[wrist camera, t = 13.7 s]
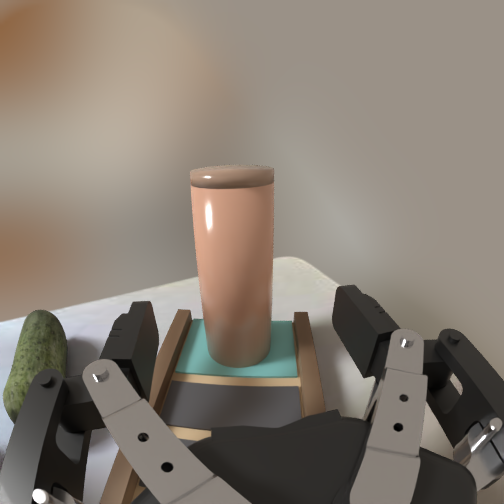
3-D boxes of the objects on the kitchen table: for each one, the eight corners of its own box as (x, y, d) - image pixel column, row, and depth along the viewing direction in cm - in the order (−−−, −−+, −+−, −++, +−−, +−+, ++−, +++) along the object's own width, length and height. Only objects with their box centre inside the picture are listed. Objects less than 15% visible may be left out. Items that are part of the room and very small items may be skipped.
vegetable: (79, 445, 13) (45, 402, 11) (24, 449, 11) (-14, 408, 9) (76, 334, 24) (60, 293, 22) (36, 341, 22) (18, 302, 20)
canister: (202, 365, 20) (179, 176, 15) (212, 325, 25) (200, 166, 20) (270, 368, 20) (275, 174, 15) (270, 327, 25) (273, 164, 19)
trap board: (98, 569, 4) (80, 565, 4) (181, 325, 27) (178, 309, 26) (334, 598, 4) (344, 600, 3) (305, 328, 26) (307, 311, 25)
